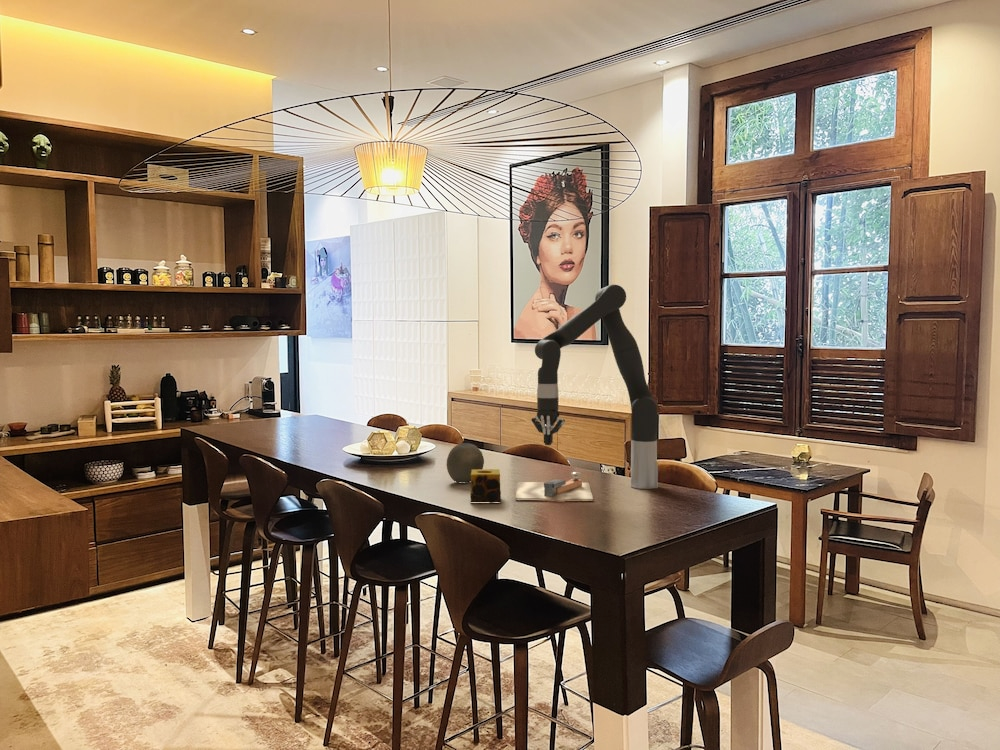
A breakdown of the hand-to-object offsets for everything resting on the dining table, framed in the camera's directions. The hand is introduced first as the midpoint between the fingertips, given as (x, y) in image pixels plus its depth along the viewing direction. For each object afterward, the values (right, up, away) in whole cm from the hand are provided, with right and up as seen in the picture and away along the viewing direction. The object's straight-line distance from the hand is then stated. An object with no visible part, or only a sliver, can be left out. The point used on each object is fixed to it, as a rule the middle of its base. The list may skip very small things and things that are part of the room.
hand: (548, 444), depth 272 cm
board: (+2, -17, -2) cm, 17 cm away
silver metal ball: (+10, -13, +4) cm, 17 cm away
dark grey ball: (-30, -16, +16) cm, 38 cm away
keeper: (+2, -16, -9) cm, 19 cm away
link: (+6, -15, -2) cm, 17 cm away
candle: (-22, -18, -14) cm, 32 cm away
